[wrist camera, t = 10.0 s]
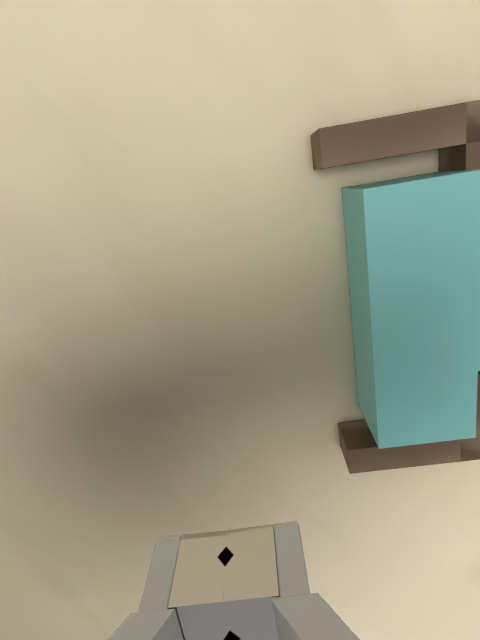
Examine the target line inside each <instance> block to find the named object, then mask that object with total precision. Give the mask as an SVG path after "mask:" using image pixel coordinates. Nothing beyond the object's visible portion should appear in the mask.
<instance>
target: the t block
mask: <svg viewBox="0 0 480 640" xmlns="http://www.w3.org/2000/svg"><path fill="white" fill-rule="evenodd" d="M341 189H342V202H343V215H344V228H345V240H346V253H347V266H348V279H349V292H350V305H351V318H352V330H353V343H354V356H355V369H356V382H357V395H358V406H359V408H360V410H361V412H362V414H363V416H364V418H365V421H366V423H367V425H368V427H369V429H370V431H371V433H372V435H373V437H374V439H375V442H376V444H377V446H378V448H379V449H382V448H390V447H399V446H408V445H416V444H425V443H434V442H442V441H451V440H459V439H468V438H476V414H477V381H478V371H480V169H479V170H461V171H444V172H434V173H428V174H422V175H416V176H410V177H404V178H398V179H392V180H386V181H380V182H374V183H369V184H363V185H357V186H351V187H345V188H341Z"/></svg>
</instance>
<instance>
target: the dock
mask: <svg viewBox="0 0 480 640" xmlns="http://www.w3.org/2000/svg"><path fill="white" fill-rule="evenodd" d="M311 147H312V157H313V168H314V170H317V169H323V168H329V167H335V166H340V165H346V164H352V163H358V162H364V161H370V160H375V159H381V158H387V157H393V156H399V155H405V154H410V153H416V152H422V151H428V150H434V149H439V172H444V171H461V170H479V169H480V100H477V101H471V102H466V103H460V104H455V105H449V106H443V107H438V108H432V109H427V110H421V111H416V112H410V113H404V114H399V115H393V116H388V117H382V118H376V119H371V120H365V121H360V122H354V123H349V124H343V125H337V126H332V127H326V128H321V129H318V130H317V131H316V132H314V133H313V134H312V135H311ZM338 428H339V438H340V446H341V449H342V452H343V455H344V458H345V461H346V464H347V467H348V470H349V473H350V474H351V473H360V472H369V471H378V470H387V469H397V468H406V467H415V466H424V465H433V464H442V463H451V462H460V461H469V460H478V459H480V371H478V381H477V414H476V438H468V439H459V440H451V441H442V442H434V443H425V444H416V445H408V446H399V447H390V448H382V449H379V448H378V446H377V444H376V442H375V439H374V437H373V435H372V433H371V431H370V429H369V427H368V425H367V423H366V421H365V420H360V421H352V422H344V423H338Z"/></svg>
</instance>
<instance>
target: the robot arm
mask: <svg viewBox="0 0 480 640" xmlns="http://www.w3.org/2000/svg"><path fill="white" fill-rule="evenodd" d="M109 640H359V639H358V637H357V636H356V635H355V634H354V633H353V632H352V631H351V630H350V628H349V627H348V626H347V625H346V624H345V623H344V622H343V621H342V620H341V618H340V617H339V616H338V615H337V614H336V613H335V612H334V611H333V610H332V608H331V607H330V606H329V605H328V604H327V603H326V602H325V601H324V599H323V598H322V597H321V596H320V595H319V594H318V593H314V594H310V590H309V584H308V578H307V572H306V565H305V559H304V553H303V547H302V541H301V535H300V529H299V524H298V522H297V521H294V522H286V523H279V524H272V525H264V526H257V527H249V528H241V529H234V530H228V531H218V532H207V533H196V534H186V535H181V536H170V537H160V538H159V540H158V542H157V543H156V546H155V550H154V554H153V557H152V561H151V565H150V569H149V573H148V577H147V581H146V585H145V588H144V592H143V596H142V600H141V604H140V608H139V612H138V613H131V614H130V615H129V616H128V617H127V619H126V620H125V621H124V622H123V623H122V624H121V626H120V627H119V628H118V629H117V630H116V631H115V633H114V634H113V635H112V636H111V637H110V638H109Z"/></svg>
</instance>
